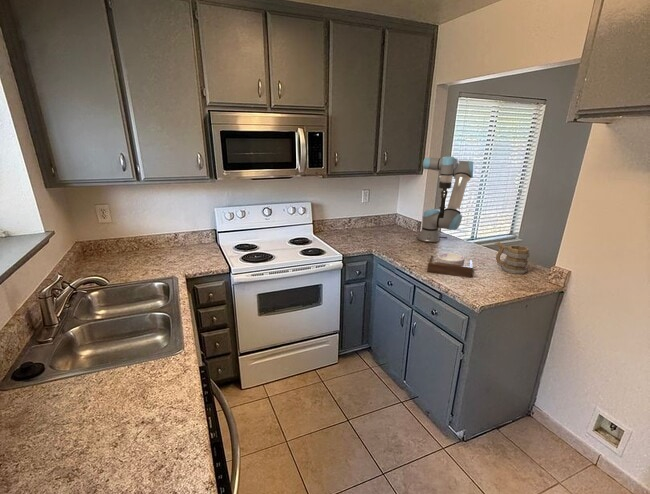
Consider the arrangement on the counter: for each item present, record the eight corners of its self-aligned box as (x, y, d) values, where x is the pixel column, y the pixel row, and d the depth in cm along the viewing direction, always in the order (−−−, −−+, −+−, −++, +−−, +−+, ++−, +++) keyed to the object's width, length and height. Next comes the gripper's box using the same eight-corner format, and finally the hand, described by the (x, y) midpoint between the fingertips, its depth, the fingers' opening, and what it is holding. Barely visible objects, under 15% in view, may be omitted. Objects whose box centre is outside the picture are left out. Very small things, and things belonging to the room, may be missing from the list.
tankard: (529, 270, 212) (535, 246, 206) (520, 275, 204) (526, 250, 199) (496, 261, 226) (500, 239, 220) (486, 266, 218) (491, 243, 212)
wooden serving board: (430, 262, 223) (431, 253, 221) (471, 267, 216) (472, 258, 213) (427, 272, 209) (428, 262, 206) (471, 277, 201) (472, 267, 199)
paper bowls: (440, 263, 223) (441, 251, 220) (465, 267, 216) (467, 255, 213) (433, 270, 211) (434, 257, 208) (459, 275, 204) (461, 262, 201)
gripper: (439, 180, 236) (436, 215, 245) (439, 183, 224) (435, 219, 234) (451, 180, 233) (447, 215, 243) (451, 183, 222) (446, 220, 231)
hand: (441, 217), depth 238 cm, fingers closed
